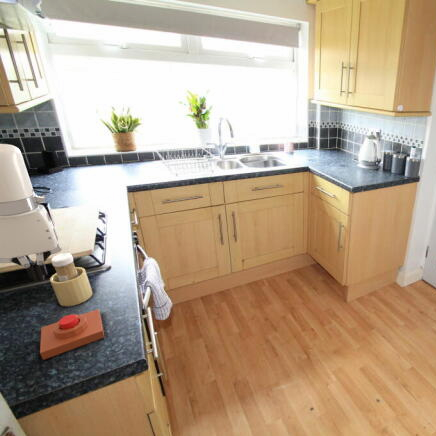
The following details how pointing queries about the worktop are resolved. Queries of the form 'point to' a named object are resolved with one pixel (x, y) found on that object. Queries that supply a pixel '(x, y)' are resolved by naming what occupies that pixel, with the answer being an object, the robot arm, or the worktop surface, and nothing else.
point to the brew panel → (71, 335)
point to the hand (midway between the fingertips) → (39, 278)
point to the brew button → (68, 322)
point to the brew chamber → (72, 289)
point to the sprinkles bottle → (64, 267)
